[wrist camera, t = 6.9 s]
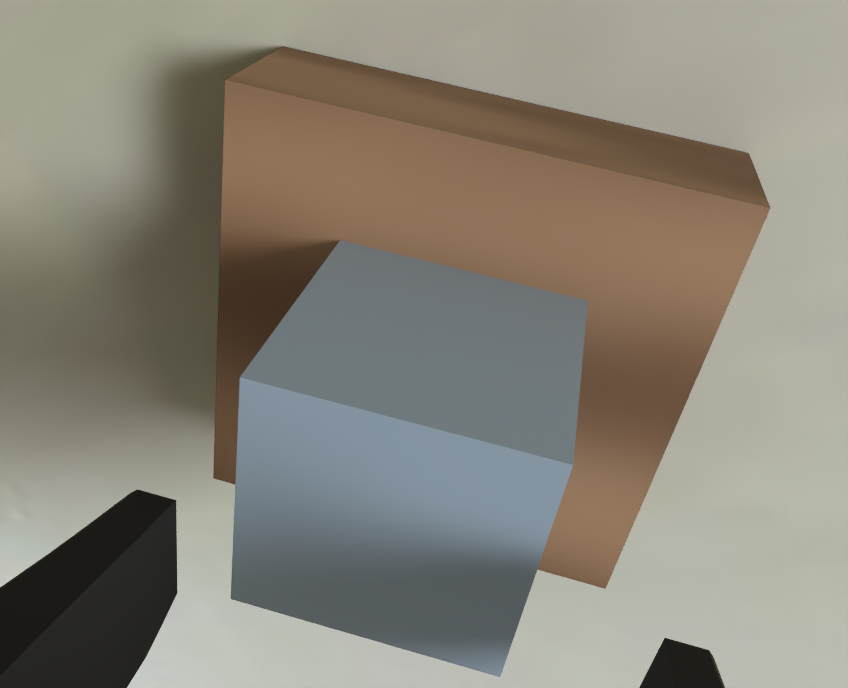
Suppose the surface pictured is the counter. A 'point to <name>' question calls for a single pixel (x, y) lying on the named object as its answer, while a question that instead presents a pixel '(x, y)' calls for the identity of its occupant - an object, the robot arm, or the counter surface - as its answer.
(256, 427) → the slate-blue cube
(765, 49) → the counter surface
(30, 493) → the counter surface
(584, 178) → the walnut base
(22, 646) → the robot arm
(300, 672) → the counter surface
